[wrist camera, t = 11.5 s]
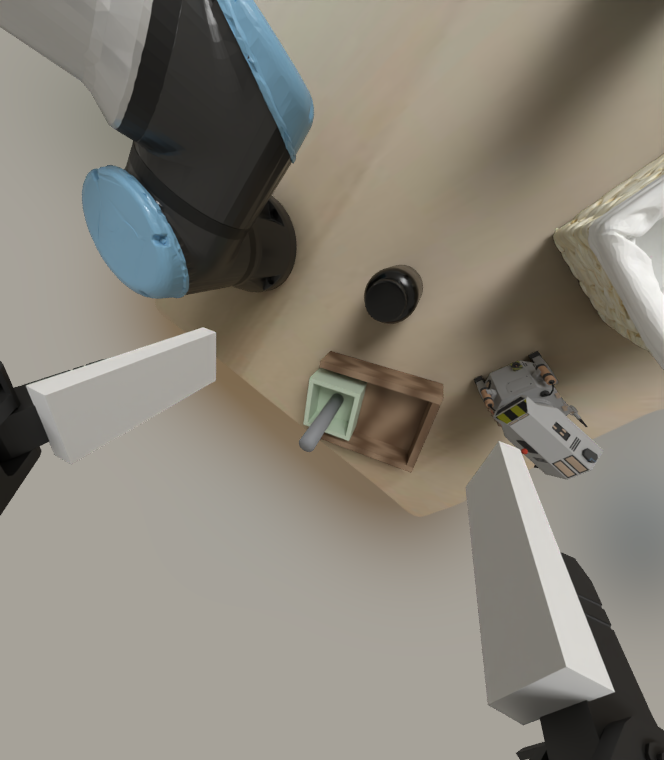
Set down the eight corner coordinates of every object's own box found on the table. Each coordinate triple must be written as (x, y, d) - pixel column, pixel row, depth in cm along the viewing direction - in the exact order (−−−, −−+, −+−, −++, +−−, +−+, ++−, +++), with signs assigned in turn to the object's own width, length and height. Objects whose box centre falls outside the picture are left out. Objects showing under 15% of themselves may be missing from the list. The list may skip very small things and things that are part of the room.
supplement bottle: (425, 262, 38) (419, 268, 28) (421, 311, 41) (415, 332, 31) (376, 265, 40) (355, 271, 30) (376, 311, 43) (357, 331, 33)
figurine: (503, 426, 44) (529, 498, 31) (468, 370, 42) (480, 422, 30) (570, 405, 39) (631, 479, 27) (533, 340, 38) (581, 387, 25)
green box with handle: (314, 410, 54) (276, 458, 42) (320, 366, 50) (281, 406, 37) (356, 425, 52) (330, 480, 40) (367, 381, 48) (342, 428, 35)
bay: (318, 420, 57) (309, 434, 53) (330, 351, 49) (320, 360, 45) (413, 454, 52) (411, 472, 48) (443, 384, 45) (443, 398, 40)
